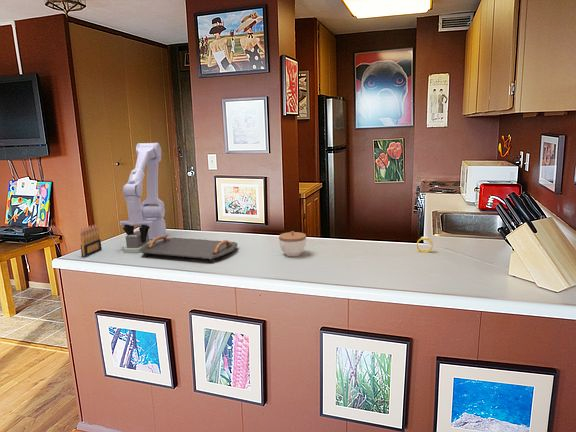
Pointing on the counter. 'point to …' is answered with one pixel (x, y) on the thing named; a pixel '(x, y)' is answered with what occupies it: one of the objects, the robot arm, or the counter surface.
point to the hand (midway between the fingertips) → (138, 242)
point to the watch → (425, 239)
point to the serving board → (189, 248)
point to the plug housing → (135, 240)
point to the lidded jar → (292, 243)
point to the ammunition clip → (90, 241)
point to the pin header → (135, 249)
